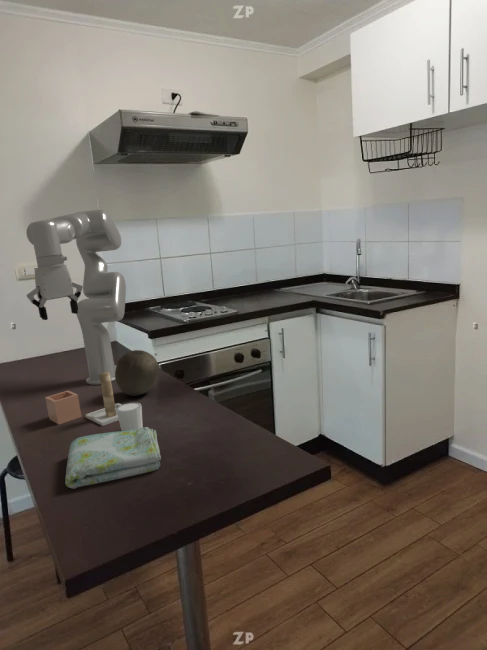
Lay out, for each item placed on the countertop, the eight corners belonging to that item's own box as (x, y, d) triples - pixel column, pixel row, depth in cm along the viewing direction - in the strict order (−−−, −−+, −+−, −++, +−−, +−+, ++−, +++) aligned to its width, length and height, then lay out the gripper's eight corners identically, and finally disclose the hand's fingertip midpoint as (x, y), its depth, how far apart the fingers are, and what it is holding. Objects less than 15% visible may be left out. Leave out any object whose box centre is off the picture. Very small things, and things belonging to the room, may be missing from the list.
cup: (72, 413, 150) (68, 390, 149) (82, 418, 145) (77, 394, 144) (49, 421, 146) (45, 397, 144) (58, 426, 140) (54, 401, 139)
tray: (119, 407, 151) (118, 403, 151) (137, 415, 143) (136, 410, 143) (86, 419, 144) (85, 414, 144) (103, 427, 136) (102, 422, 136)
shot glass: (149, 426, 134) (146, 402, 132) (136, 436, 127) (132, 412, 126) (128, 425, 136) (124, 401, 135) (114, 435, 130) (110, 411, 128)
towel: (165, 470, 108) (162, 449, 107) (66, 493, 103) (61, 471, 102) (157, 439, 125) (154, 421, 124) (72, 457, 120) (68, 438, 119)
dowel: (113, 412, 146) (106, 371, 143) (118, 414, 143) (111, 373, 141) (104, 415, 144) (97, 374, 141) (109, 417, 141) (102, 375, 139)
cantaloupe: (130, 404, 153) (123, 359, 150) (112, 395, 164) (105, 353, 161) (169, 392, 161) (163, 349, 158) (148, 384, 172) (143, 344, 169)
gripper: (71, 258, 156) (80, 310, 159) (16, 265, 144) (27, 321, 148) (82, 258, 150) (91, 311, 154) (25, 265, 139) (37, 323, 142)
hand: (60, 316), depth 151 cm, fingers open, 9 cm apart
